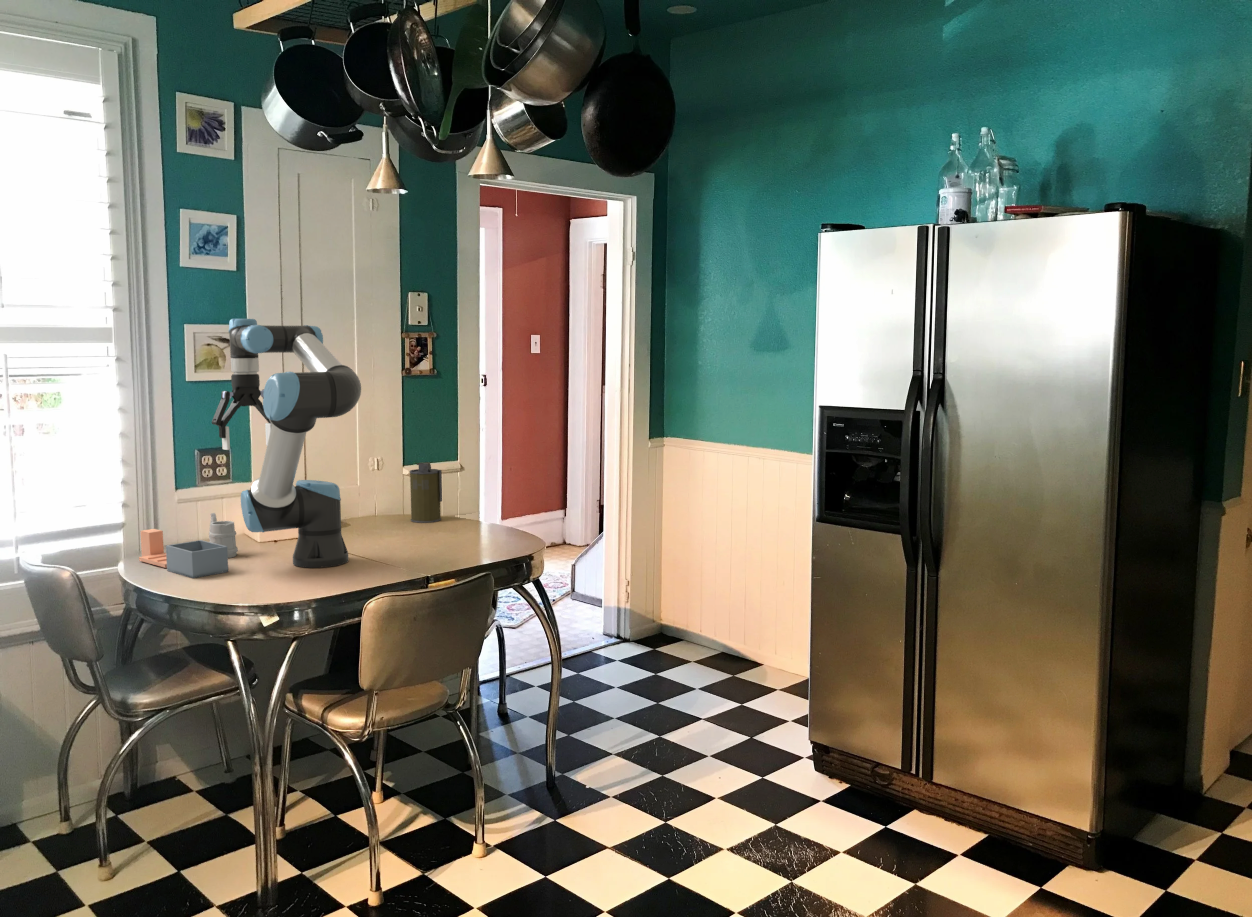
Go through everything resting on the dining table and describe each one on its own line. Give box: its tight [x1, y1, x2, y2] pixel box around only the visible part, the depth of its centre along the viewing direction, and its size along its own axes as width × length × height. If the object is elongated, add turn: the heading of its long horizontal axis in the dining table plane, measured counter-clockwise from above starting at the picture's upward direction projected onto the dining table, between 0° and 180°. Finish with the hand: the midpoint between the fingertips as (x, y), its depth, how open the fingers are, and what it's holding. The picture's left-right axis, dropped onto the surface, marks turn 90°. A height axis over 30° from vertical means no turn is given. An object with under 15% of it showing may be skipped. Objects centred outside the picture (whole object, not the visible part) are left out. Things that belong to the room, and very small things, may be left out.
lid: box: [138, 528, 167, 569], centre depth 295 cm, size 20×11×8 cm, turn 51°
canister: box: [409, 462, 443, 524], centre depth 360 cm, size 11×10×20 cm
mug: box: [208, 512, 239, 559], centre depth 303 cm, size 8×12×12 cm, turn 46°
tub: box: [165, 539, 229, 579], centre depth 282 cm, size 14×10×7 cm
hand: (248, 447), depth 298 cm, fingers open, 13 cm apart
